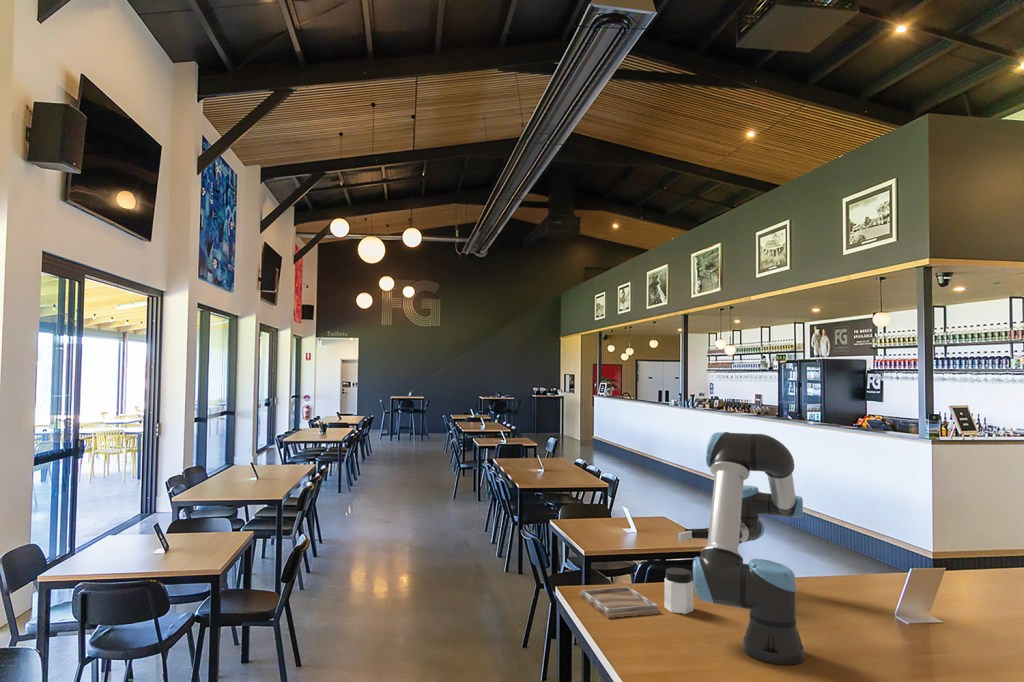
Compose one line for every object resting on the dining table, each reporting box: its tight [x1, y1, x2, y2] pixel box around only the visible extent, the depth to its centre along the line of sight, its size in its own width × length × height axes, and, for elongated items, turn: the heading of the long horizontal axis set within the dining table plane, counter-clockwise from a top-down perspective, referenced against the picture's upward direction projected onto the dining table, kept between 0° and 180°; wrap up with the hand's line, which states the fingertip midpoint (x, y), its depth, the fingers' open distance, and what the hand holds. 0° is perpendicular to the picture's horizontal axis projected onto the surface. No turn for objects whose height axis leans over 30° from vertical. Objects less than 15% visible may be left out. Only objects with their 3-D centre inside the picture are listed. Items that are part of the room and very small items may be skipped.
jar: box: [663, 567, 694, 615], centre depth 199 cm, size 9×8×12 cm
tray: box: [578, 586, 661, 619], centre depth 202 cm, size 22×18×2 cm
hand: (696, 541), depth 206 cm, fingers open, 13 cm apart
